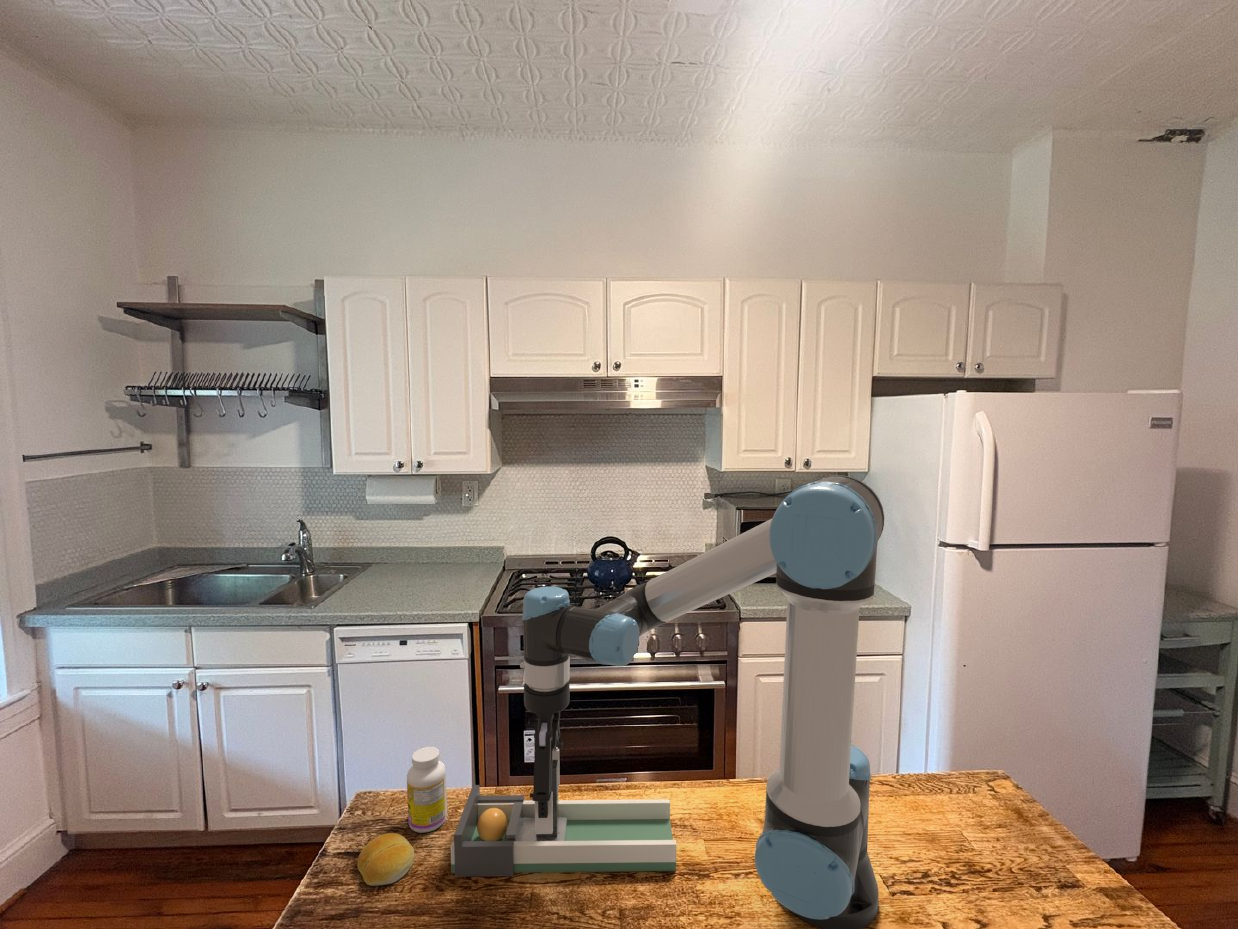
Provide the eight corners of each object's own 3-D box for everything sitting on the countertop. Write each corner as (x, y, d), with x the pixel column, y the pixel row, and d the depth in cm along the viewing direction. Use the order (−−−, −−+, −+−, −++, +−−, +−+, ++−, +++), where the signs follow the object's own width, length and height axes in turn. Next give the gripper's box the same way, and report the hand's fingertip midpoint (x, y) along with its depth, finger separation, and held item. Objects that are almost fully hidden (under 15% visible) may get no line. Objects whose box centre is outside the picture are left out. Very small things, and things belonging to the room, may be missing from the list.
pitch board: (669, 823, 104) (669, 799, 104) (676, 871, 93) (676, 844, 93) (468, 825, 104) (467, 801, 103) (451, 873, 93) (450, 846, 92)
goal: (524, 821, 104) (524, 784, 104) (513, 876, 92) (512, 834, 92) (473, 822, 104) (472, 785, 104) (455, 876, 92) (454, 835, 91)
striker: (567, 821, 102) (566, 750, 101) (563, 855, 94) (562, 779, 93) (514, 821, 102) (513, 750, 101) (506, 855, 94) (505, 779, 93)
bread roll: (370, 898, 88) (369, 873, 88) (352, 864, 95) (351, 841, 95) (423, 870, 94) (422, 846, 93) (402, 839, 100) (402, 817, 100)
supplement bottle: (415, 809, 108) (413, 743, 107) (451, 808, 108) (449, 742, 107) (403, 835, 101) (400, 765, 100) (441, 834, 101) (439, 764, 100)
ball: (491, 842, 100) (516, 828, 99) (479, 853, 95) (505, 838, 95) (479, 812, 101) (504, 798, 101) (467, 822, 96) (493, 807, 96)
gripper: (533, 653, 108) (535, 765, 109) (511, 719, 84) (514, 861, 86) (574, 652, 108) (574, 765, 110) (563, 718, 84) (564, 860, 86)
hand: (548, 807), depth 98 cm, fingers open, 11 cm apart
